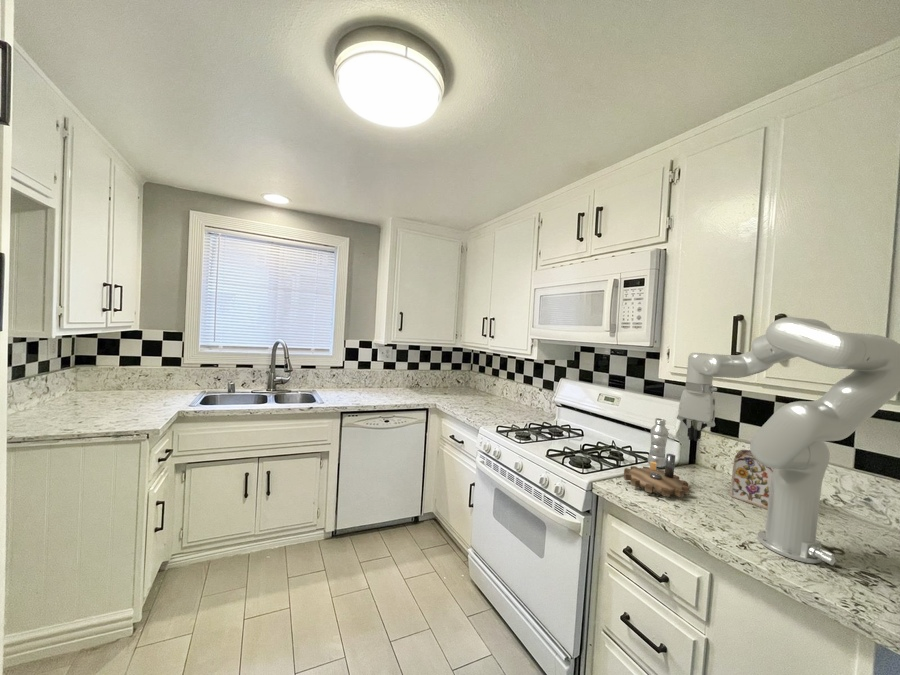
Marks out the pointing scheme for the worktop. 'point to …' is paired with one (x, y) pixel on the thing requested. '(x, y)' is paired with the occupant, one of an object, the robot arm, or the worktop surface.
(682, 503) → the worktop surface
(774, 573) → the worktop surface
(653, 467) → the timing post
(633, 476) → the sprocket
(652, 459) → the plastic bottle
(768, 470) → the decorative jar
